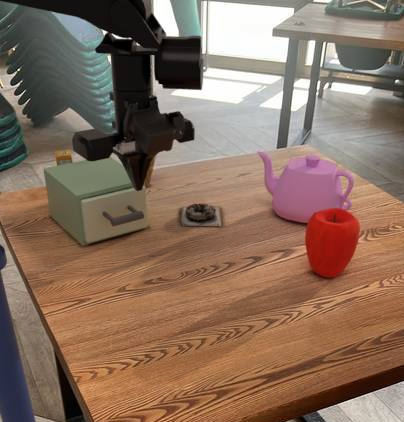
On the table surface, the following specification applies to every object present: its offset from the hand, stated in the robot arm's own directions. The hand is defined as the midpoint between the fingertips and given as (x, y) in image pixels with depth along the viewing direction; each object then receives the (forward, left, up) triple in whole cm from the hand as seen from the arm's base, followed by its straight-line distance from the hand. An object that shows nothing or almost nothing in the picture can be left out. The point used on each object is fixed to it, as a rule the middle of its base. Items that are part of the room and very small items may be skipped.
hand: (138, 190), depth 93 cm
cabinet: (0, +17, -13) cm, 21 cm away
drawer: (0, +13, -12) cm, 17 cm away
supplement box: (-1, +29, -13) cm, 32 cm away
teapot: (+36, -1, -13) cm, 39 cm away
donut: (+18, +8, -13) cm, 24 cm away
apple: (+24, -21, -13) cm, 35 cm away
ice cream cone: (+16, +27, -13) cm, 34 cm away
